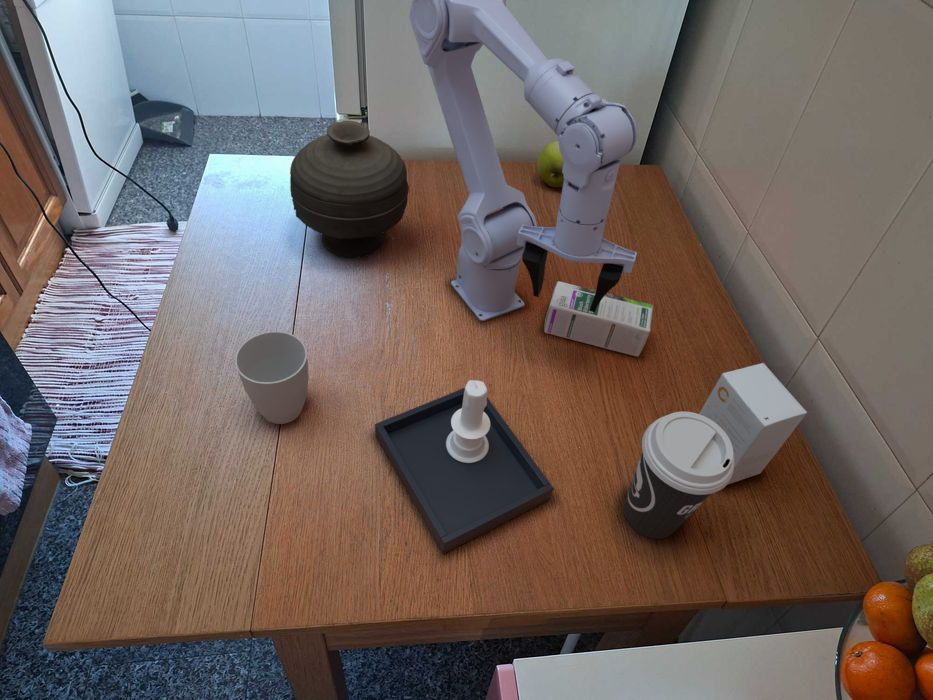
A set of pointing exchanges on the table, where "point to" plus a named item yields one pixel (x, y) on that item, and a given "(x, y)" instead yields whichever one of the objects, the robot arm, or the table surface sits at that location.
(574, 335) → the syrup box
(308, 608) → the table surface
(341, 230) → the pot
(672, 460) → the coffee cup
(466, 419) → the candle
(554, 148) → the apple
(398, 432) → the tray
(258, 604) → the table surface
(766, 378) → the small box
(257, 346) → the cup
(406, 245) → the table surface
